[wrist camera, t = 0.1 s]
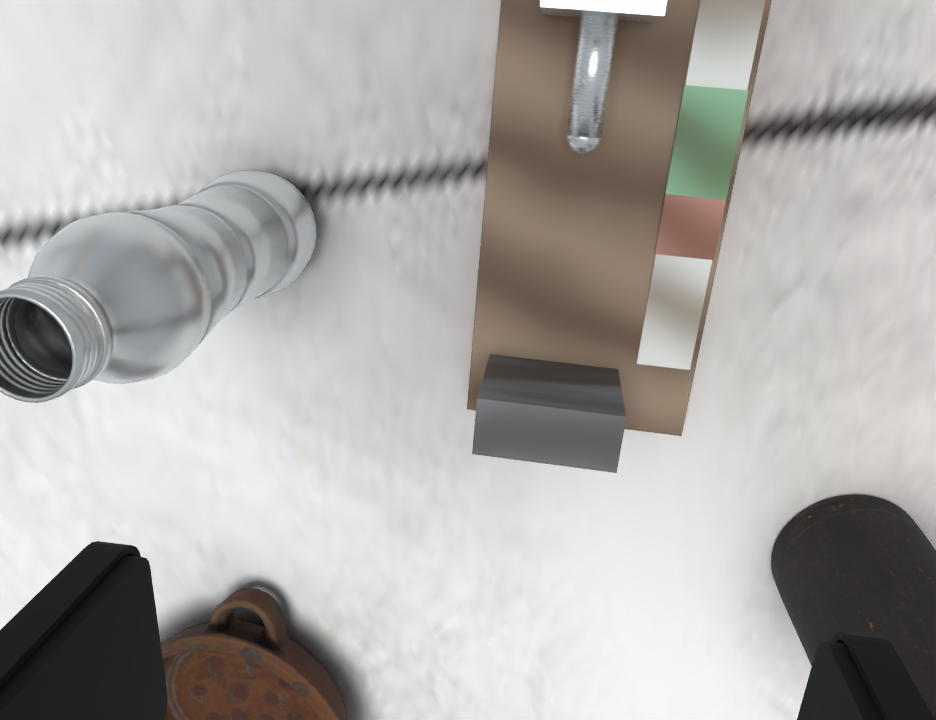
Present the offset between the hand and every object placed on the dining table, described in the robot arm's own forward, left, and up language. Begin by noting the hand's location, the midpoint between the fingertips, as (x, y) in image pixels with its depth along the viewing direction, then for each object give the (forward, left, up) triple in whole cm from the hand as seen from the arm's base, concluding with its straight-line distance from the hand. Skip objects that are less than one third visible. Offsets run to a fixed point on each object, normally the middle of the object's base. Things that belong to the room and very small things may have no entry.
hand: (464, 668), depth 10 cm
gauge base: (-4, +3, -31) cm, 31 cm away
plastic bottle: (+1, -15, -31) cm, 35 cm away
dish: (+36, -17, -32) cm, 51 cm away
